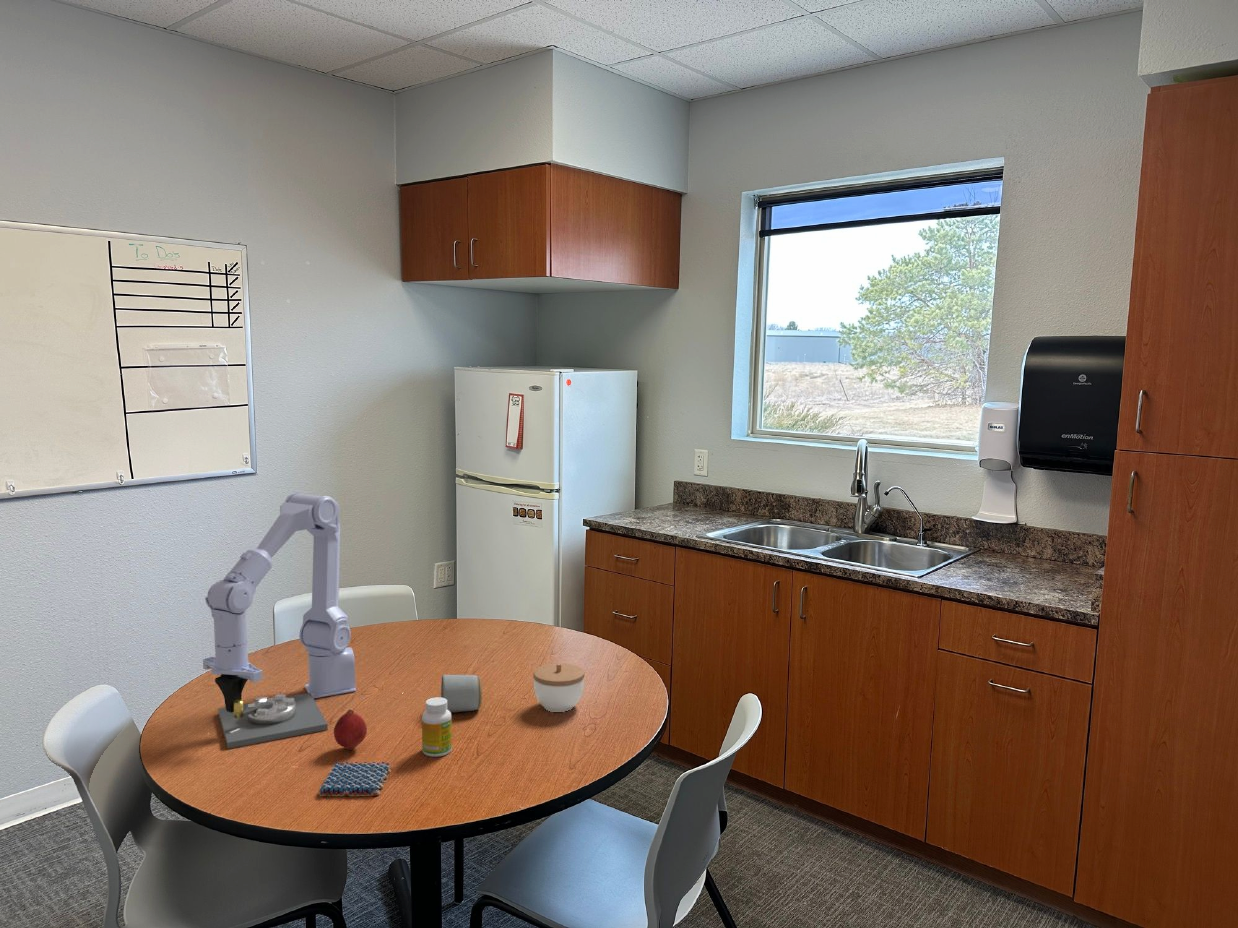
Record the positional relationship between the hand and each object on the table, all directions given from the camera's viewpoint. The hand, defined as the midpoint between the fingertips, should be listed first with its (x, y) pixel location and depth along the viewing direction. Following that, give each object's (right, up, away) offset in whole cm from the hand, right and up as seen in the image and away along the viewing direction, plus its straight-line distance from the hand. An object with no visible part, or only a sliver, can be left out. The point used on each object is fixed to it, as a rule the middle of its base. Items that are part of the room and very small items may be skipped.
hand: (233, 710), depth 169 cm
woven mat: (+29, -8, -18) cm, 35 cm away
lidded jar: (+62, -4, +15) cm, 64 cm away
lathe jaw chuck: (+4, -3, +4) cm, 6 cm away
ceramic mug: (+41, -4, +14) cm, 44 cm away
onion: (+25, -6, -6) cm, 26 cm away
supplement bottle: (+41, -6, -6) cm, 42 cm away
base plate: (+5, -4, +6) cm, 8 cm away
